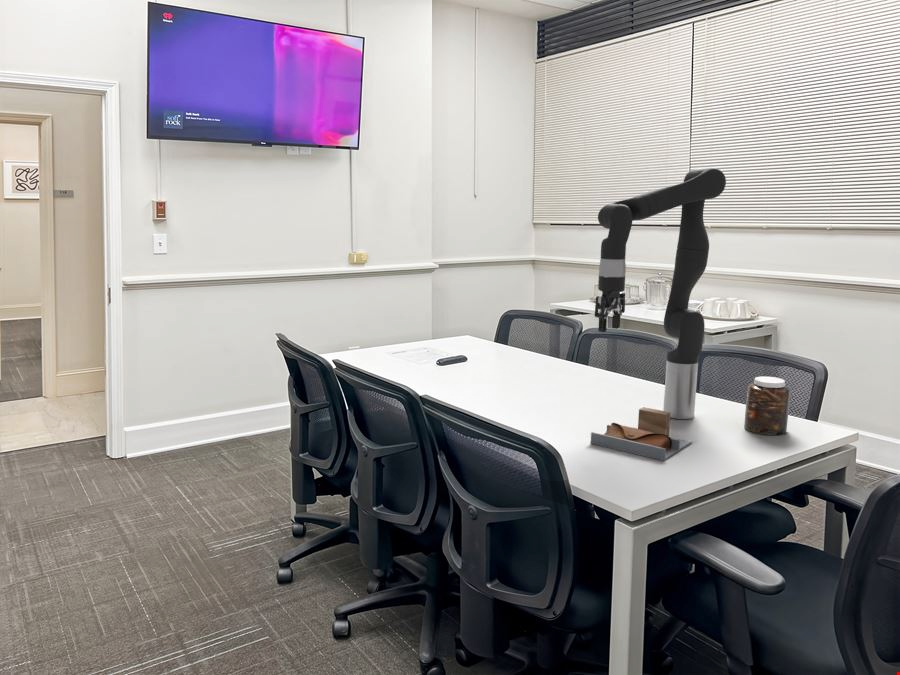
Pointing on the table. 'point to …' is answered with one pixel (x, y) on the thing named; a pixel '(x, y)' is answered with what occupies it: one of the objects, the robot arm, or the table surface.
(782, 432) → the jar
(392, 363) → the table surface
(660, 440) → the sunglasses case
